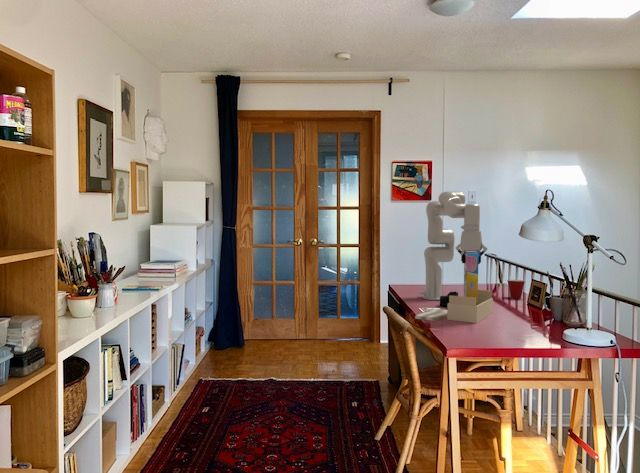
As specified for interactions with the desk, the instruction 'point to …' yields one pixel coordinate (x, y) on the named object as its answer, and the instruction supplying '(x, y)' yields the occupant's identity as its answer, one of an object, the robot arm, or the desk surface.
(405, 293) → the desk surface
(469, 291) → the game box
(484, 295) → the carton
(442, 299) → the film camera
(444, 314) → the white glove
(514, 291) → the plastic cup
